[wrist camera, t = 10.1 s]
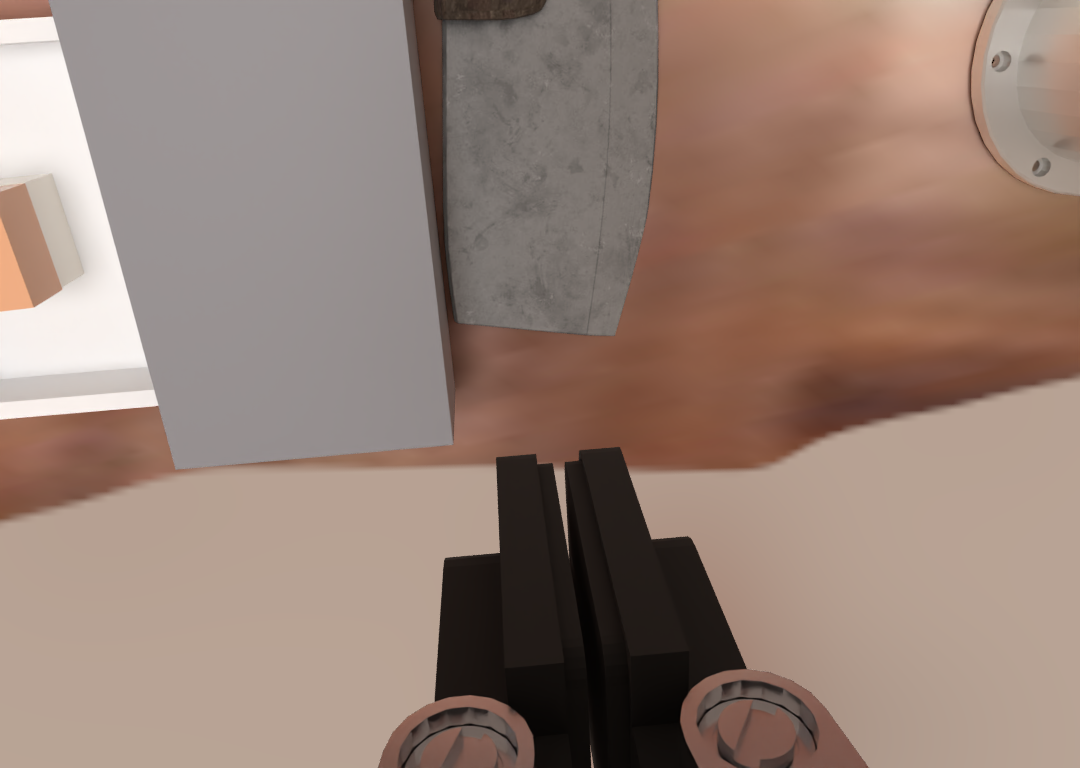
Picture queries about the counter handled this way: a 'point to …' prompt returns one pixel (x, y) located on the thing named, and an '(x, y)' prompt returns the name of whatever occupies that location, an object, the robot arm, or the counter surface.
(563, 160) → the cleaver
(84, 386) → the box
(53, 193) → the cream tile
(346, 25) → the block
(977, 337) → the counter surface
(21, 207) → the terracotta tile
